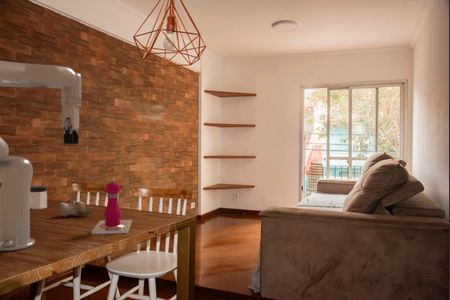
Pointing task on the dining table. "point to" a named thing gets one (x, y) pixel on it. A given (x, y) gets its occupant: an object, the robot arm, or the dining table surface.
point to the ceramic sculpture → (74, 208)
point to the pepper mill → (112, 204)
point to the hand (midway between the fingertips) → (71, 143)
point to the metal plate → (112, 228)
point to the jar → (38, 197)
